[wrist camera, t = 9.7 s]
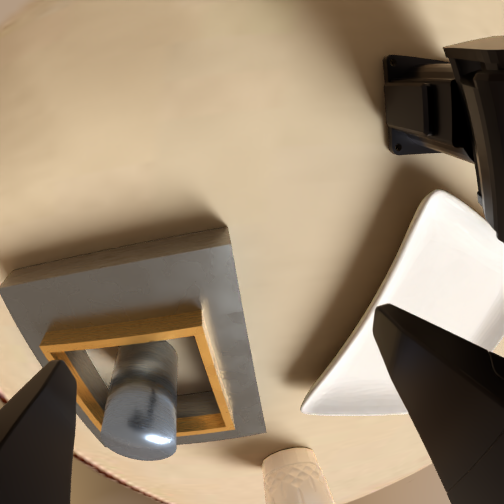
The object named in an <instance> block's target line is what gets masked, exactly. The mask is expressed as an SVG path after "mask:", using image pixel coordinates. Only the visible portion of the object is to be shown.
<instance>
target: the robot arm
mask: <svg viewBox="0 0 504 504" xmlns="http://www.w3.org/2000/svg"><path fill="white" fill-rule="evenodd" d="M443 49H444V52H445V55H446V57H447V58H449V61H450V62H444V61H438V60H431V59H424V58H417V57H408V56H399V55H388V56H385V57H384V59H383V66H384V75H385V86H384V92H385V105H386V122H387V125H388V133H389V150H390V151H391V152H392V153H393V154H396V155H407V154H425V153H445V154H448V155H451V156H454V157H457V158H459V159H462V160H465V161H468V162H470V163H473V164H475V169H476V176H477V183H478V192H477V196H478V202H479V203H480V205H481V206H482V207H483V210H484V215H485V219H486V221H487V222H488V223H489V224H490V226H491V227H492V228H493V230H494V231H496V238H497V239H498V240H500V241H501V242H503V243H504V36H492V37H487V38H482V39H477V40H472V41H467V42H463V43H458V44H454V45H450V46H446V47H443ZM390 60H392V61H393V66H392V65H391V64H390ZM397 144H398V146H399V147H398V149H397V150H396V149H395V146H396V145H397ZM372 331H373V336H374V339H375V341H376V343H377V346H378V348H379V351H380V353H381V356H382V358H383V361H384V363H385V366H386V369H387V371H388V374H389V376H390V378H391V380H392V382H393V384H394V386H395V388H396V390H397V392H398V394H399V396H400V398H401V400H402V402H403V404H404V406H405V407H406V409H407V411H408V413H409V415H410V417H411V419H412V421H413V423H414V425H415V427H416V429H417V431H418V433H419V435H420V437H421V439H422V441H423V443H424V445H425V448H426V450H427V452H428V454H429V456H430V458H431V460H432V462H433V464H434V466H435V469H436V471H437V473H438V475H439V477H440V479H441V482H442V483H443V486H444V488H445V490H446V492H447V495H448V497H449V500H450V502H451V504H504V358H503V357H501V356H499V355H497V354H495V353H493V352H491V351H489V352H488V350H486V349H484V348H482V347H480V346H478V345H476V344H474V343H472V342H470V341H468V340H466V339H464V338H462V337H460V336H457V335H455V334H453V333H451V332H449V331H447V330H445V329H443V328H441V327H439V326H437V325H435V324H432V323H430V322H428V321H426V320H424V319H422V318H420V317H418V316H416V315H414V314H411V313H409V312H407V311H405V310H403V309H401V308H399V307H397V306H395V305H392V304H390V303H387V304H383V305H379V306H377V307H376V308H375V312H374V320H373V328H372ZM76 397H77V382H76V379H75V377H74V376H73V374H72V372H71V371H70V369H69V368H68V366H67V365H66V363H65V362H64V361H63V360H51V361H50V362H48V363H47V364H46V365H45V366H44V367H43V368H42V369H41V370H40V371H39V372H38V373H37V374H36V375H35V376H34V377H33V378H32V379H31V380H30V381H29V382H28V383H26V384H25V385H24V386H23V387H22V388H21V389H20V390H19V391H18V392H17V393H16V394H15V395H14V396H13V397H12V398H11V399H10V400H9V401H8V402H7V403H6V404H5V405H4V406H3V407H2V408H1V409H0V504H70V493H71V474H72V459H73V449H74V439H75V427H76Z"/></svg>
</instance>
